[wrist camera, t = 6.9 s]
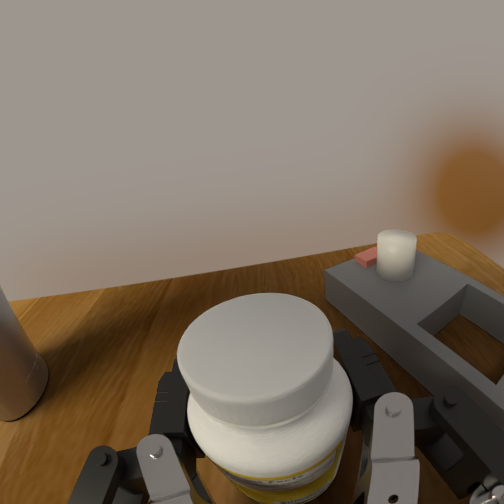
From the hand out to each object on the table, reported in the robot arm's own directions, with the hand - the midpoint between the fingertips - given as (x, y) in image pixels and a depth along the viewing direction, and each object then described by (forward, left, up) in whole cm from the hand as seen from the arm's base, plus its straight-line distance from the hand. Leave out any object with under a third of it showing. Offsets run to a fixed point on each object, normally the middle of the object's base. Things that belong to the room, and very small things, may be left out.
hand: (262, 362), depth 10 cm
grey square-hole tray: (+13, -1, -6) cm, 15 cm away
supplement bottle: (-1, -2, -6) cm, 7 cm away
